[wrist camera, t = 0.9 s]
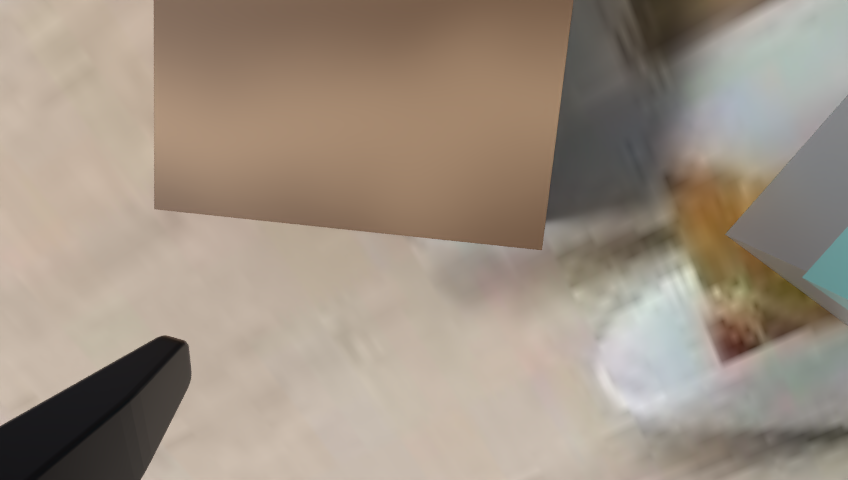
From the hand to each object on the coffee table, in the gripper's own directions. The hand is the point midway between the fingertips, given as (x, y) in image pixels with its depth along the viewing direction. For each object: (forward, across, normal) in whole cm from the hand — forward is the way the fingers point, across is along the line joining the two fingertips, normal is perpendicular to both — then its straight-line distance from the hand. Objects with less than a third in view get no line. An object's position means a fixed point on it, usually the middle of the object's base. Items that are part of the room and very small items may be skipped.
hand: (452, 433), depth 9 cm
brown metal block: (+15, +5, 0) cm, 16 cm away
